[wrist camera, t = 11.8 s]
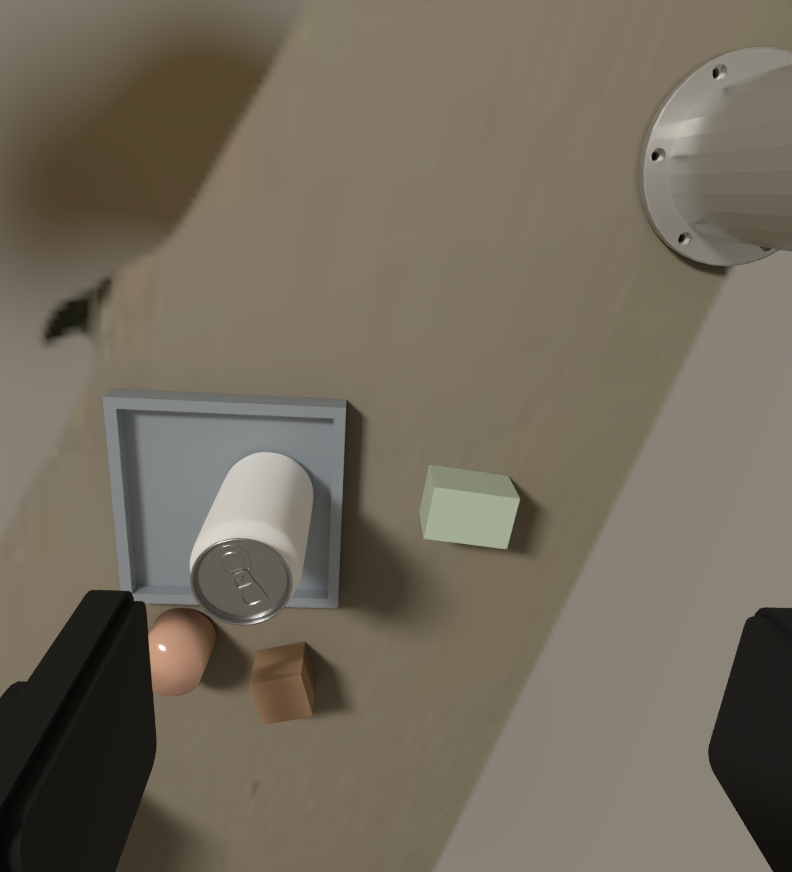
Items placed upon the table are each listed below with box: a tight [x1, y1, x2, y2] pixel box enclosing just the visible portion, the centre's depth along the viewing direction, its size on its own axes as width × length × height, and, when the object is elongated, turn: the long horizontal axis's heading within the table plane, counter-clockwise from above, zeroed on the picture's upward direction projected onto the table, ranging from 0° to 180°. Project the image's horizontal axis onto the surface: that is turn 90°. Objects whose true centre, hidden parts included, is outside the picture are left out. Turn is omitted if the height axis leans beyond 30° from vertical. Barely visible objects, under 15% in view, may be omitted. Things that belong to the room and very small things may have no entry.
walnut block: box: [249, 642, 316, 725], centre depth 52 cm, size 4×4×4 cm
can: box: [190, 452, 313, 625], centre depth 42 cm, size 6×6×12 cm
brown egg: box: [148, 608, 216, 696], centre depth 51 cm, size 5×5×4 cm
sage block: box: [419, 465, 520, 549], centre depth 48 cm, size 6×4×4 cm, turn 80°
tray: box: [103, 389, 346, 608], centre depth 48 cm, size 16×16×2 cm
